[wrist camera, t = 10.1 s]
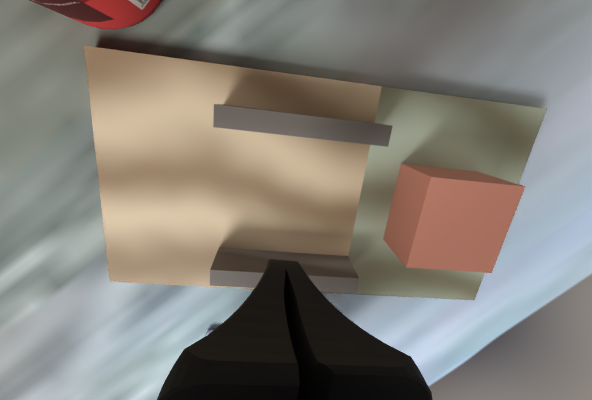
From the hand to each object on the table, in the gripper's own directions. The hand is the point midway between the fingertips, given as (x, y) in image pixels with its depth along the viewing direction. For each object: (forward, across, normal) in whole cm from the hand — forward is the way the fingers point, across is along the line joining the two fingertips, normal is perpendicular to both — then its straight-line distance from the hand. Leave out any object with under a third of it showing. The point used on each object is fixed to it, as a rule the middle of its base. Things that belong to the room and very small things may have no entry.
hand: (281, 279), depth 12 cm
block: (+8, -11, -2) cm, 14 cm away
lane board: (+9, -3, -1) cm, 10 cm away
